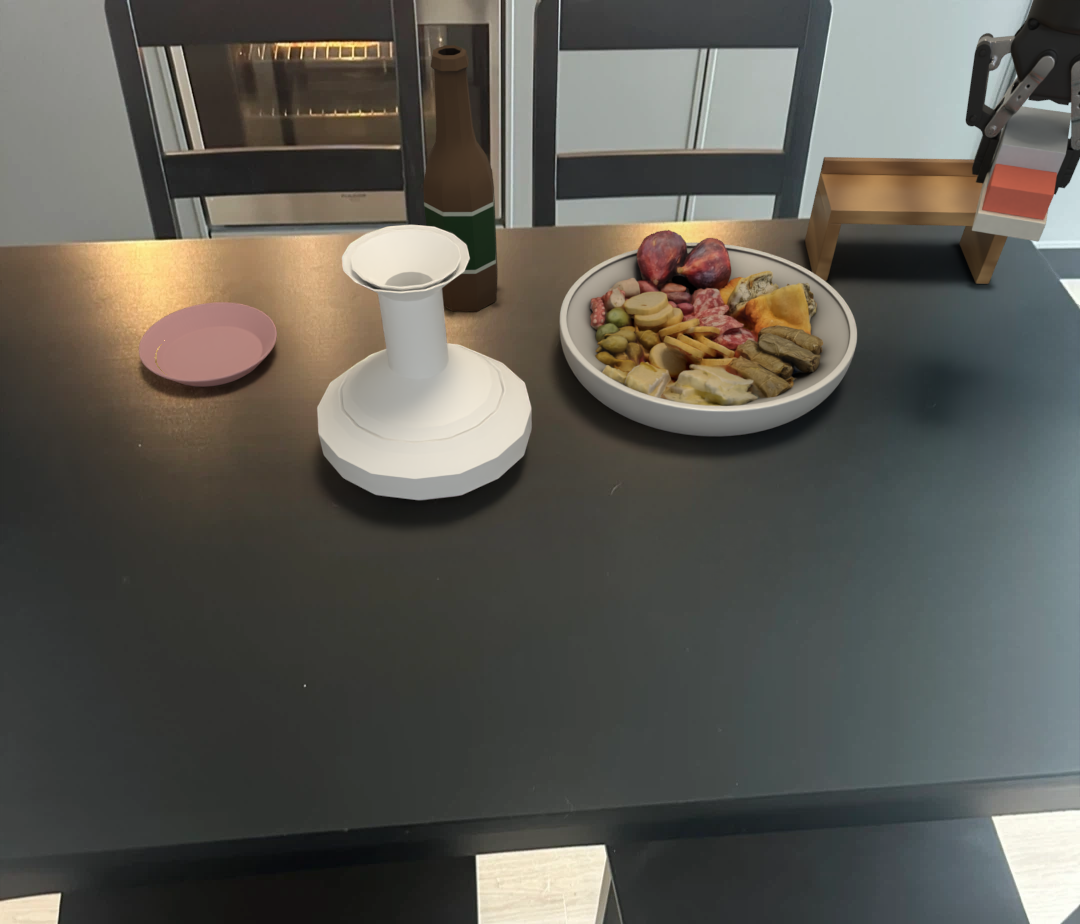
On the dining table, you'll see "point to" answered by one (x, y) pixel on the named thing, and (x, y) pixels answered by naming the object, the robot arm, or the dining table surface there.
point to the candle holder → (420, 382)
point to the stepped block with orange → (1023, 174)
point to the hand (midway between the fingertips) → (1015, 183)
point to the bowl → (706, 336)
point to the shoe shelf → (899, 205)
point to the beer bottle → (461, 184)
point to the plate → (208, 343)
